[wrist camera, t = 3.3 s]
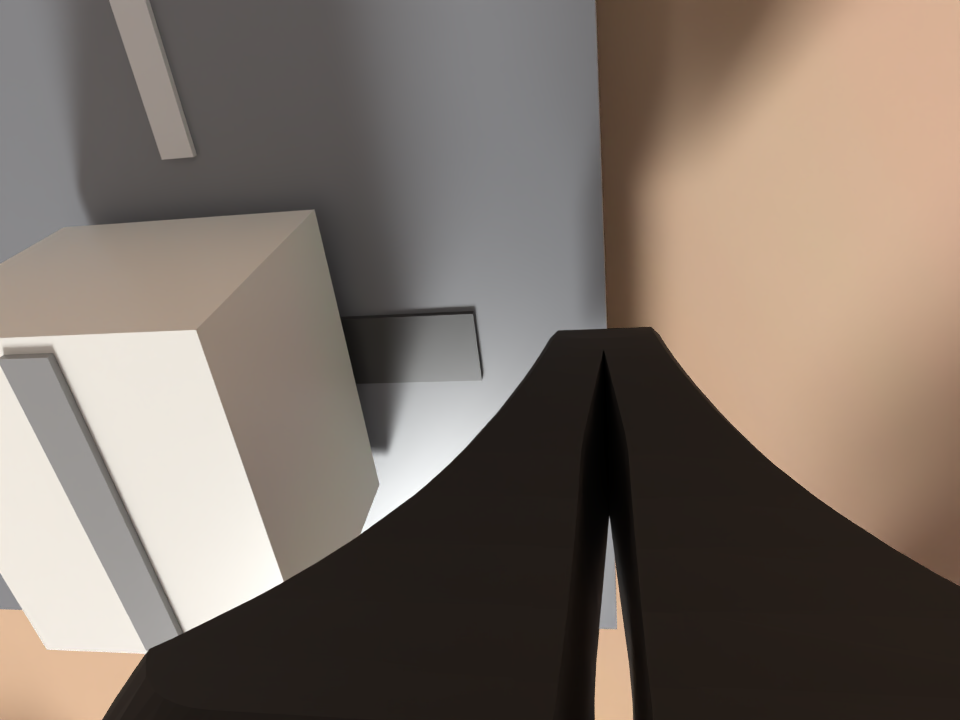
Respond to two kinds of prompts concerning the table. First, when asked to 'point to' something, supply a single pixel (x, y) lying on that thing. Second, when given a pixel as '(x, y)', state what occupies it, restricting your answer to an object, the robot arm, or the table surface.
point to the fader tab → (172, 424)
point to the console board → (341, 175)
